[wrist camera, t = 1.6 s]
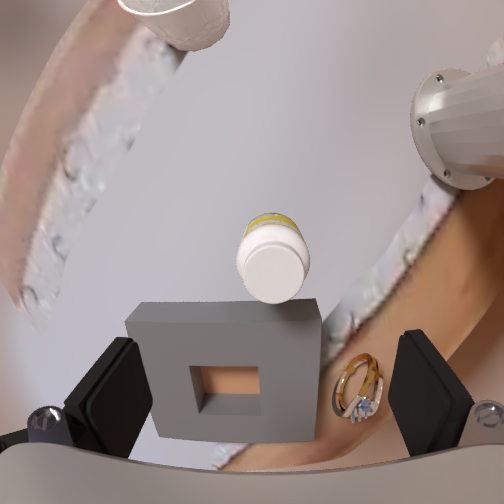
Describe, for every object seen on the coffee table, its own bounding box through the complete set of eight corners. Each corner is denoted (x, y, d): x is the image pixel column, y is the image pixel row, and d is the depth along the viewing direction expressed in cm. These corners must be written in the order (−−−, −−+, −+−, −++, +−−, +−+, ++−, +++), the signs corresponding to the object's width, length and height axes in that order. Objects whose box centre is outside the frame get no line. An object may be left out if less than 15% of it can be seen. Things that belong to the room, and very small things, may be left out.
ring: (340, 391, 34) (352, 439, 26) (319, 381, 34) (327, 430, 26) (379, 348, 32) (401, 393, 25) (358, 336, 32) (378, 381, 24)
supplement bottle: (282, 278, 31) (286, 327, 21) (232, 250, 30) (215, 289, 21) (312, 230, 29) (331, 261, 20) (261, 200, 29) (256, 218, 20)
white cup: (180, -14, 23) (149, -66, 14) (250, 3, 24) (240, -54, 14) (144, 46, 25) (96, 8, 16) (214, 67, 26) (187, 26, 16)
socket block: (315, 298, 31) (321, 319, 27) (310, 415, 35) (313, 441, 31) (141, 302, 32) (124, 321, 28) (168, 413, 37) (159, 436, 32)
